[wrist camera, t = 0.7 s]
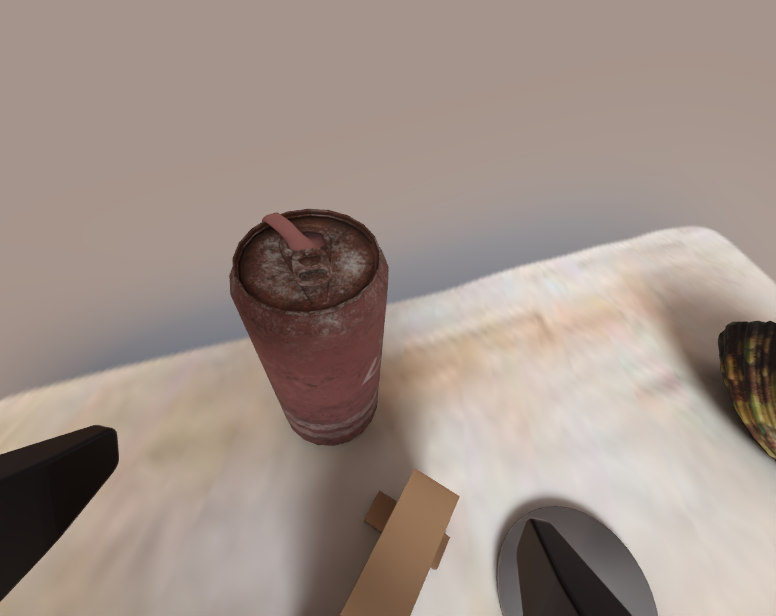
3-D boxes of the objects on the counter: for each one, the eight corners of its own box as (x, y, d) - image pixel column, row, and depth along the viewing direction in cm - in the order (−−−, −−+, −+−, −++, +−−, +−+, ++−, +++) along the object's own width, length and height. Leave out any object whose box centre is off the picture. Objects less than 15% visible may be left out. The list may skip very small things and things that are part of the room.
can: (327, 345, 27) (305, 181, 16) (394, 396, 25) (421, 248, 14) (264, 404, 24) (180, 253, 13) (333, 469, 22) (306, 353, 11)
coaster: (644, 754, 16) (651, 758, 15) (474, 630, 18) (476, 632, 17) (660, 561, 20) (666, 560, 20) (522, 480, 22) (525, 478, 22)
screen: (359, 750, 15) (359, 872, 9) (278, 677, 16) (227, 738, 10) (447, 535, 20) (488, 514, 14) (380, 490, 21) (389, 452, 15)
